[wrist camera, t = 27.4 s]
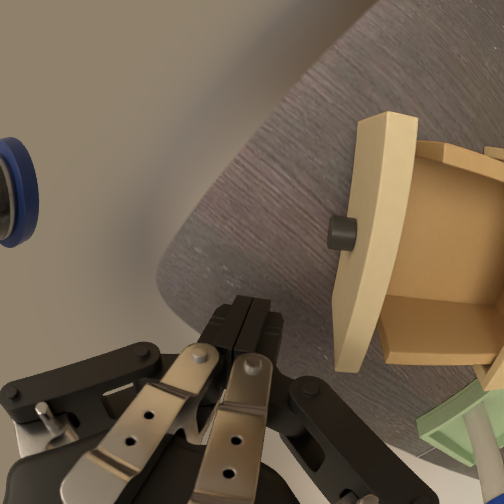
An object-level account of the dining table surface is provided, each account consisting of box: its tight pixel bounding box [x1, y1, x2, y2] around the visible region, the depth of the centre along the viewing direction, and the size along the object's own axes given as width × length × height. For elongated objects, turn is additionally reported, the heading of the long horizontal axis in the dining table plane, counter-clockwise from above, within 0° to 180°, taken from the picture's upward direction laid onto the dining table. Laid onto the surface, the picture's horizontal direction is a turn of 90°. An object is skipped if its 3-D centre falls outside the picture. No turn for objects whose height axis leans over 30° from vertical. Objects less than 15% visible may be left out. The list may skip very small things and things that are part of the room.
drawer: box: [327, 111, 504, 373], centre depth 12 cm, size 15×11×7 cm
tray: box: [416, 378, 504, 467], centre depth 20 cm, size 20×13×2 cm, turn 51°
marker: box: [462, 401, 504, 504], centre depth 14 cm, size 3×3×14 cm
